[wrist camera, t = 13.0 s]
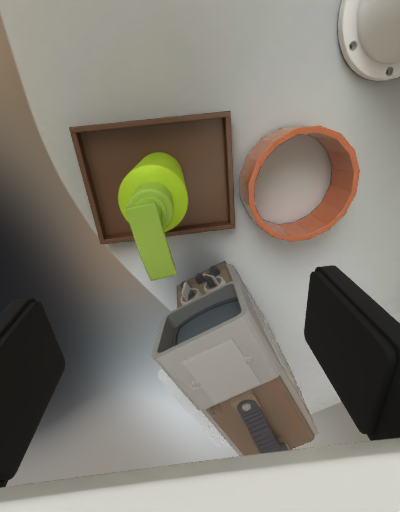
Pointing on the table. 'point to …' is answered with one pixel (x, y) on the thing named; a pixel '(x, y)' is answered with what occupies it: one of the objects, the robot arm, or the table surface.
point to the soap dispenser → (154, 209)
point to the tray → (166, 141)
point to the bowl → (335, 198)
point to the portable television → (232, 365)
